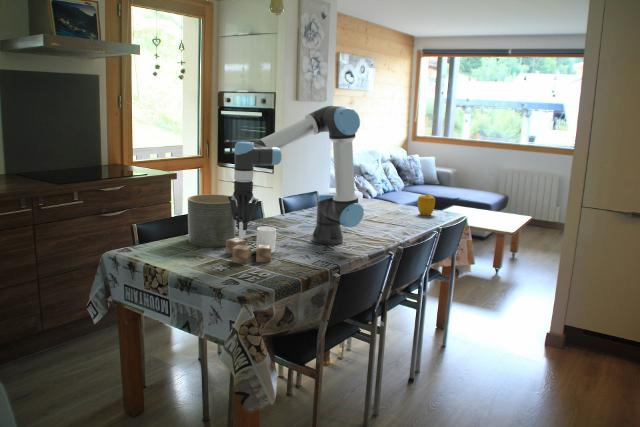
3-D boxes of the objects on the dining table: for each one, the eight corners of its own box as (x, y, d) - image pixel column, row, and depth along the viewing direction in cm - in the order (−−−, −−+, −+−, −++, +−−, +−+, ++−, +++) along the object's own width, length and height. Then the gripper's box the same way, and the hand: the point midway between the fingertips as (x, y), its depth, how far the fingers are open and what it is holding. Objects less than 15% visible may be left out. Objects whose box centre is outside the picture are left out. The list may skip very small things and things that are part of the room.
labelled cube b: (271, 258, 233) (271, 244, 232) (270, 262, 227) (271, 248, 226) (256, 257, 233) (257, 244, 231) (256, 262, 227) (256, 248, 225)
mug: (268, 245, 251) (268, 224, 249) (283, 249, 248) (284, 226, 245) (252, 251, 241) (253, 228, 239) (268, 254, 237) (268, 231, 235)
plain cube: (251, 259, 229) (251, 246, 228) (246, 264, 223) (246, 249, 222) (237, 258, 230) (237, 244, 229) (232, 262, 224) (232, 248, 223)
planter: (177, 243, 248) (177, 199, 244) (204, 233, 268) (205, 192, 264) (220, 250, 241) (221, 205, 236) (244, 239, 261) (245, 197, 257)
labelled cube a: (245, 253, 239) (246, 239, 237) (235, 255, 234) (236, 242, 233) (236, 250, 242) (236, 237, 241) (226, 253, 237) (226, 239, 236)
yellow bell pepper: (421, 212, 347) (422, 192, 344) (436, 214, 341) (438, 194, 338) (413, 214, 338) (415, 194, 335) (429, 217, 332) (431, 196, 329)
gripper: (262, 181, 221) (260, 237, 226) (234, 177, 226) (233, 233, 230) (253, 183, 214) (251, 241, 219) (224, 179, 219) (223, 237, 224)
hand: (242, 237), depth 225 cm, fingers closed
